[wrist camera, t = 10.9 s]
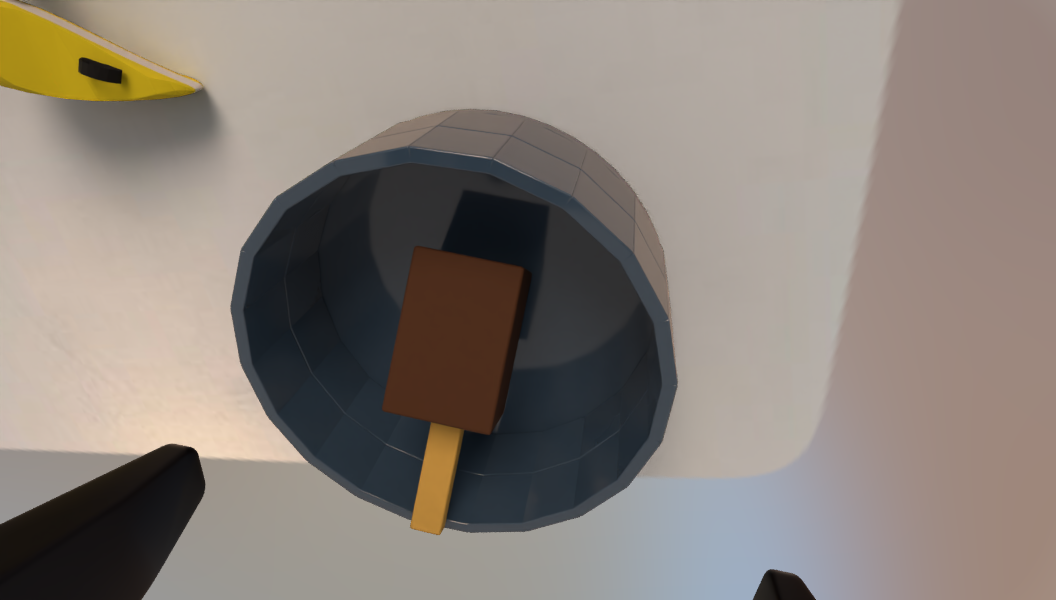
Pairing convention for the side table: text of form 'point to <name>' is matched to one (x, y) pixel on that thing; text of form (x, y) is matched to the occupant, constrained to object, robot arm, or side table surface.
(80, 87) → the game controller
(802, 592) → the robot arm
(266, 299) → the bowl
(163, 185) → the side table surface
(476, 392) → the chocolate ice cream bar
